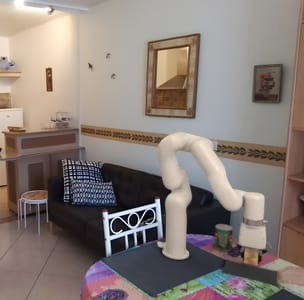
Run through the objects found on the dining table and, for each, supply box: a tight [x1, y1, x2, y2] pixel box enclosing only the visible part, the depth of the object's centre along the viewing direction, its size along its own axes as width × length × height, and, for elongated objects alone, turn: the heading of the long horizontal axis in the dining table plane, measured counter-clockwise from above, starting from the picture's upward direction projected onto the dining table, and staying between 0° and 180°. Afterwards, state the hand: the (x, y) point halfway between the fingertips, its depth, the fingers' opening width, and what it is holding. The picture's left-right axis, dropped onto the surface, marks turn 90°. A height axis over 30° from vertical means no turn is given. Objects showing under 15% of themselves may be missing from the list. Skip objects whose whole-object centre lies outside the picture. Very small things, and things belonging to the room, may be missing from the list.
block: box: [243, 247, 259, 267], centre depth 138 cm, size 5×5×5 cm
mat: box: [222, 260, 278, 286], centre depth 139 cm, size 20×12×1 cm, turn 57°
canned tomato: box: [214, 223, 234, 252], centre depth 162 cm, size 8×8×11 cm
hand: (251, 260), depth 138 cm, fingers closed on block, 5 cm apart
